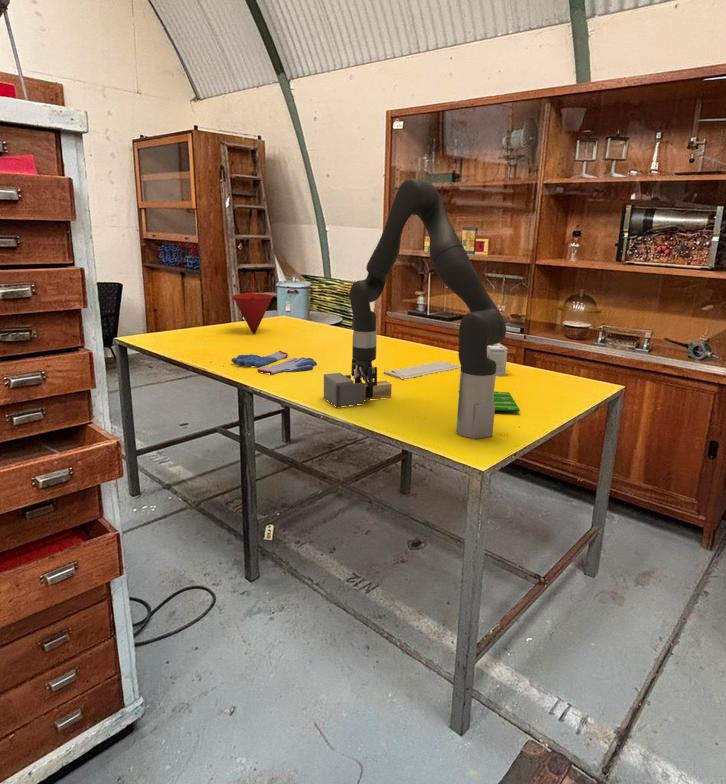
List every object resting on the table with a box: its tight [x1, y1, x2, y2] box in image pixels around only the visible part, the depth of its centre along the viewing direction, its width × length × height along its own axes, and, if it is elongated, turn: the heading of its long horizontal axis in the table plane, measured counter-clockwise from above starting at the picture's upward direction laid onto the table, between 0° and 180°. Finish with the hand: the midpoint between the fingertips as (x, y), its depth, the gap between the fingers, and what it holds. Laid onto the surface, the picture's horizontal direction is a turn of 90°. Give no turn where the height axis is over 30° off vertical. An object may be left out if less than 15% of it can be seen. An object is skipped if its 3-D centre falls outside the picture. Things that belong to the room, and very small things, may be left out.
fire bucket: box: [231, 273, 274, 335], centre depth 280 cm, size 22×20×30 cm
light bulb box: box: [487, 342, 509, 377], centre depth 219 cm, size 11×7×11 cm, turn 5°
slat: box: [363, 380, 393, 400], centre depth 184 cm, size 4×18×5 cm, turn 116°
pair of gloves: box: [231, 350, 318, 376], centre depth 226 cm, size 32×26×4 cm
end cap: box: [323, 372, 365, 408], centre depth 180 cm, size 11×9×8 cm
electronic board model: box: [493, 391, 521, 412], centre depth 186 cm, size 30×7×15 cm
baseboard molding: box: [383, 360, 461, 381], centre depth 220 cm, size 31×3×12 cm
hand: (363, 394), depth 184 cm, fingers open, 8 cm apart
